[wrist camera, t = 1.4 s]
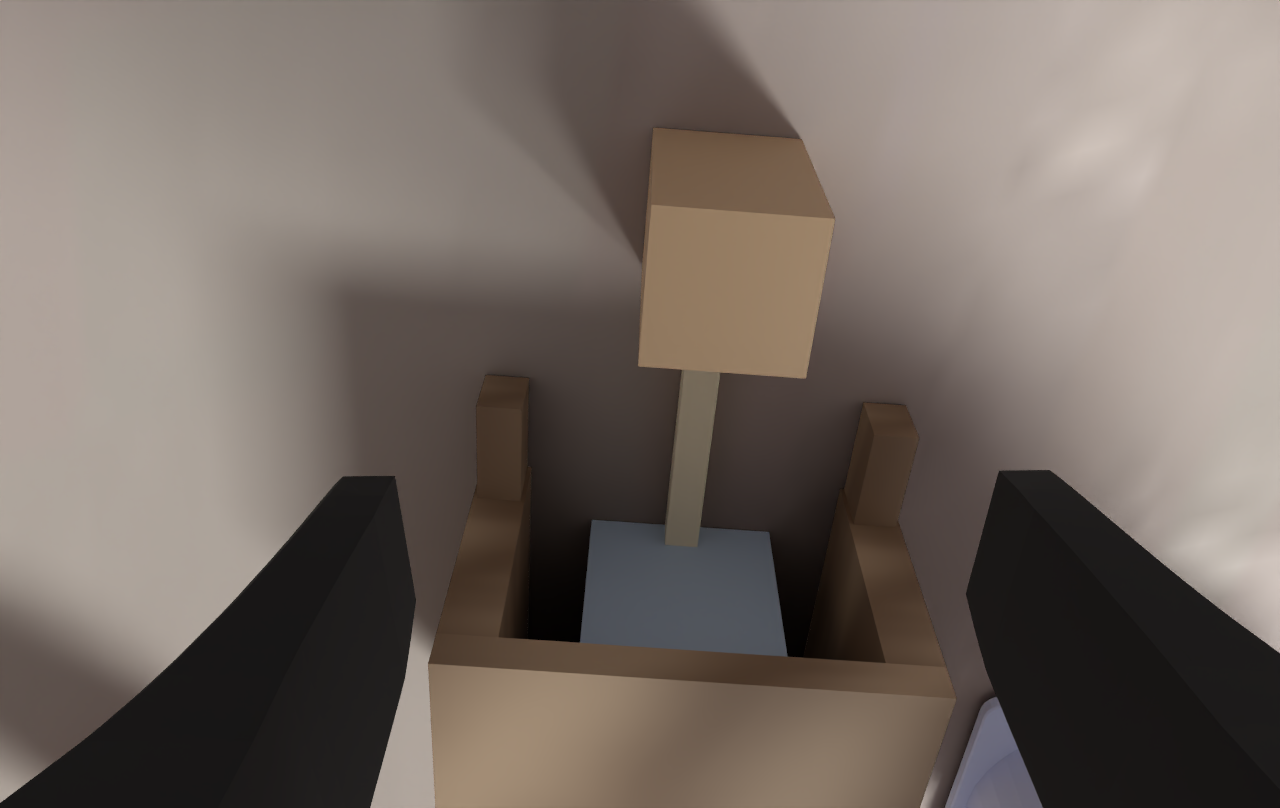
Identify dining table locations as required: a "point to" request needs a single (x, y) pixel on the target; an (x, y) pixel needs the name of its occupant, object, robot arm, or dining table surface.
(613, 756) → the open wooden box
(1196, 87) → the dining table surface
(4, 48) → the dining table surface
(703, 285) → the tethered block
